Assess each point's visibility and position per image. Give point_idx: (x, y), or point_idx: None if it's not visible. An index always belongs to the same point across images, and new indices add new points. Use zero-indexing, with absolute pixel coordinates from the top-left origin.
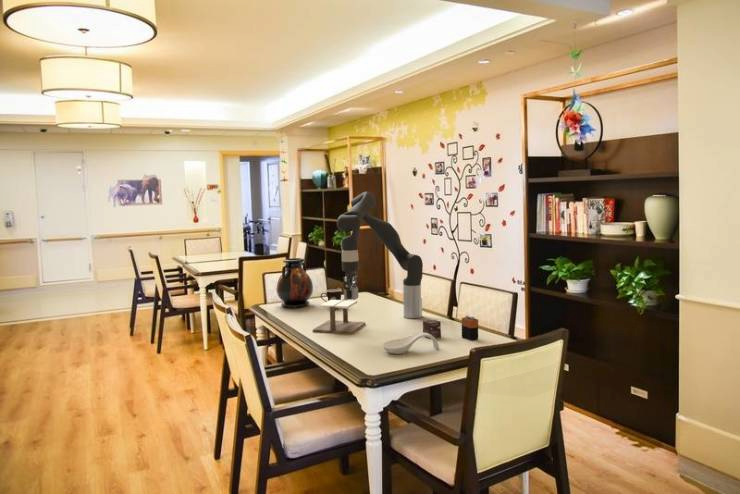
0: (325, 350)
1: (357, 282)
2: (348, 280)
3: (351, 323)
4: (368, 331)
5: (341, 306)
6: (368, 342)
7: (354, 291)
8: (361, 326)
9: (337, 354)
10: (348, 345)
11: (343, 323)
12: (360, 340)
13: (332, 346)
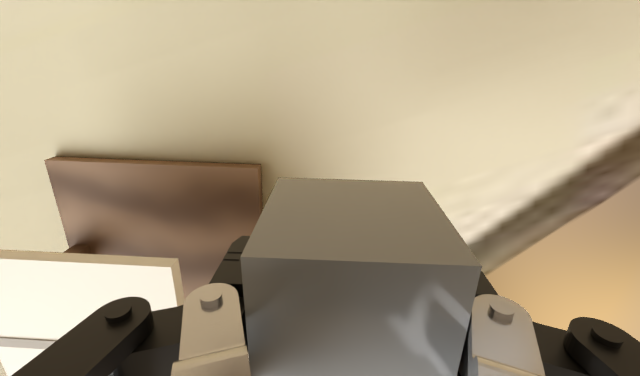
0: (556, 195)
1: (58, 349)
2: None
3: (101, 219)
4: (178, 98)
5: (177, 305)
6: (397, 27)
7: (459, 236)
8: (113, 160)
9: (630, 121)
10: (465, 118)
11: (117, 253)
12: (363, 86)
13: (487, 186)
